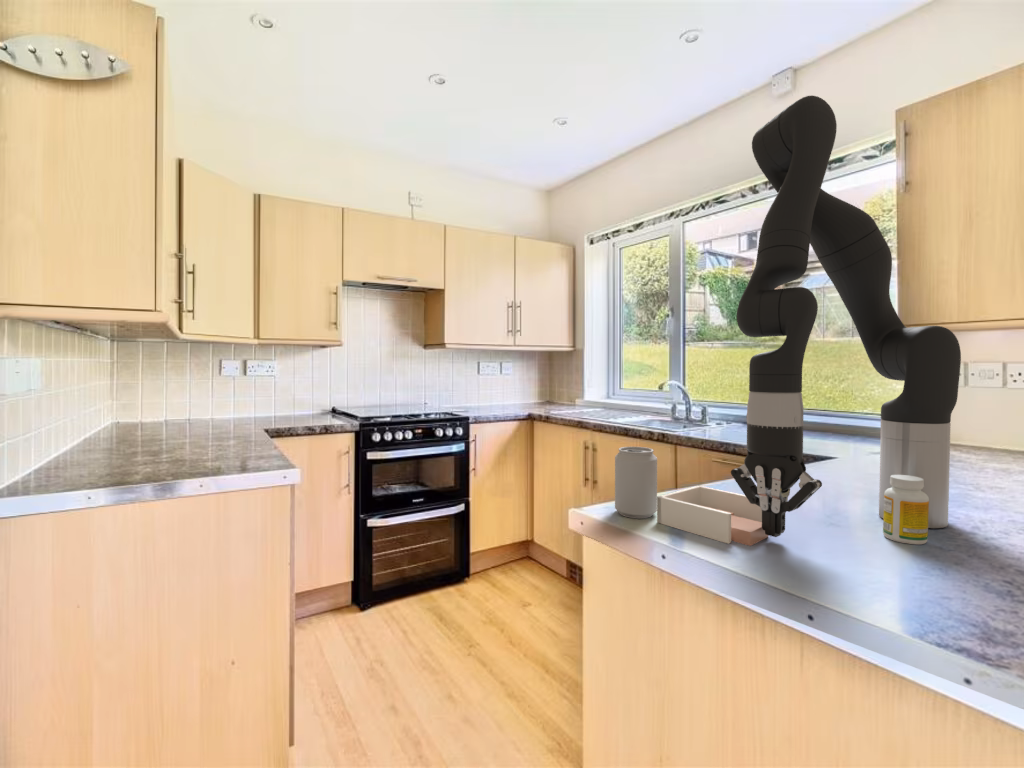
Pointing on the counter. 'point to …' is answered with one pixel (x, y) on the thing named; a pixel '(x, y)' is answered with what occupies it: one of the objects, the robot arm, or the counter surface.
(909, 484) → the supplement bottle
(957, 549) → the counter surface
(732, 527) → the tile
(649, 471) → the can
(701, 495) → the white u-shaped bracket
